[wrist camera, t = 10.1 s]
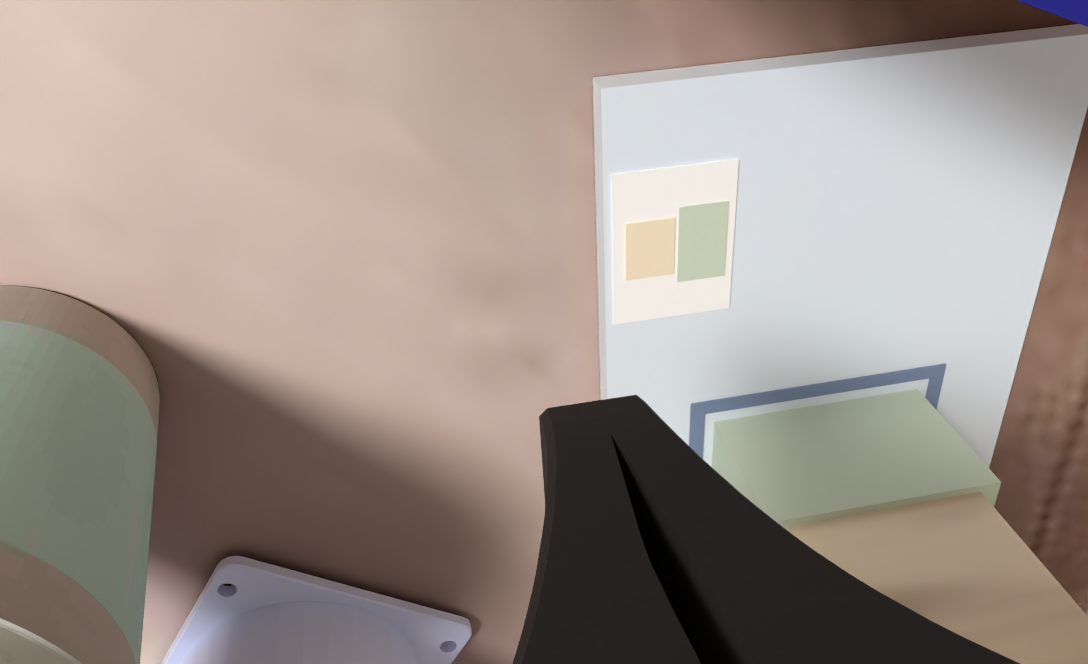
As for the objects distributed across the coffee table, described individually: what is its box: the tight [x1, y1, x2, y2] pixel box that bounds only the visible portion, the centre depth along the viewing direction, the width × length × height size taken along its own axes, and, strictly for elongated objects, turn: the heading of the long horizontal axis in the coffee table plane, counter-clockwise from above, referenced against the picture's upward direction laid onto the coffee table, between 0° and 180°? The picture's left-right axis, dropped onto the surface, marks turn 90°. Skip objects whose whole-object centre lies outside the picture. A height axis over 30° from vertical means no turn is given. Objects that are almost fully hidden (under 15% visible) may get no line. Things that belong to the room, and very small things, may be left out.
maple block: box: [788, 492, 1088, 664], centre depth 22 cm, size 5×5×5 cm
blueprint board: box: [593, 24, 1088, 468], centre depth 26 cm, size 18×12×1 cm, turn 3°
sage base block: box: [712, 389, 1001, 531], centre depth 26 cm, size 6×6×4 cm
